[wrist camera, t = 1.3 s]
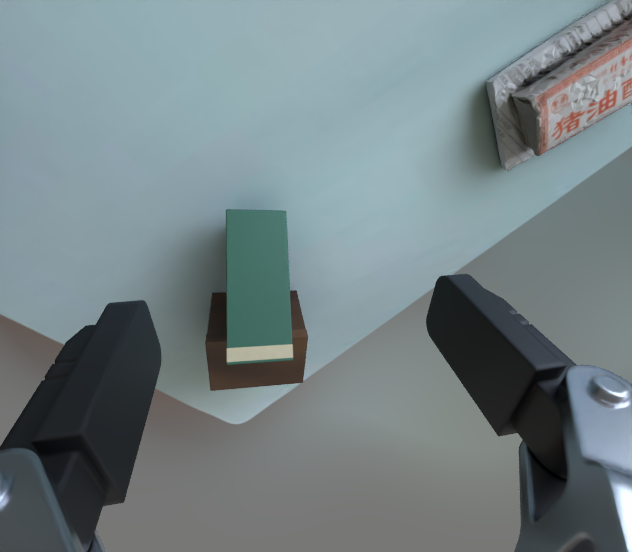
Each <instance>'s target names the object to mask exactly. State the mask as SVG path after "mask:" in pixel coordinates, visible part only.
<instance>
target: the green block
mask: <svg viewBox="0 0 632 552" xmlns="http://www.w3.org/2000/svg"><path fill="white" fill-rule="evenodd" d="M226 298H227V349H226V351H227V365H236V364H250V363H263V362H277V361H291V360H293V345H292V327H291V305H290V283H289V262H288V240H287V218H286V211H272V210H231V209H227V210H226Z"/></svg>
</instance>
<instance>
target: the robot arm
mask: <svg viewBox="0 0 632 552" xmlns="http://www.w3.org/2000/svg"><path fill="white" fill-rule="evenodd" d="M426 324H427V330H428V333H429V336H430V337H431V339H432V340H433V342H434V343H435V345H436V346H437V348H438V349H439V351H440V352H441V354H442V355H443V356H444V358H445V359H446V361H447V362H448V364H449V365H450V367H451V368H452V370H453V371H454V372H455V374H456V375H457V377H458V378H459V380H460V381H461V383H462V384H463V386H464V387H465V388H466V390H467V391H468V393H469V394H470V396H471V397H472V398H473V400H474V401H475V403H476V404H477V406H478V407H479V409H480V410H481V412H482V413H483V415H484V416H485V417H486V419H487V420H488V422H489V423H490V425H491V426H492V428H493V429H494V431H495V432H496V433H497V435H498V436H503V435H508V434H514V433H518V434H519V435H520V437H521V438H522V439H523V441H522V442H521V444H520V447H519V474H520V507H521V508H520V509H521V529H520V535H519V539H518V542H517V545H516V548H515V552H632V384H631V383H630V382H628V381H627V380H625V379H623V378H622V377H620V376H618V375H616V374H614V373H612V372H610V371H608V370H605V369H602V368H599V367H595V366H590V365H576V364H575V363H574V362H573V361H572V360H571V359H569V358H568V357H567V356H566V355H565V354H564V353H563V352H562V351H561V350H559V349H558V348H557V347H556V346H555V345H554V344H553V343H552V342H551V341H549V340H548V339H547V338H546V337H545V336H544V335H543V334H542V333H541V332H539V331H538V330H537V329H536V328H535V327H534V326H533V325H529V323H528V321H527V320H526V319H525V318H524V317H523V316H522V315H520V314H517V311H516V310H515V309H514V308H513V307H512V306H511V305H509V304H508V303H507V302H506V301H505V300H504V299H502V298H501V297H499V296H497V295H495V294H493V293H491V292H490V291H488V290H486V289H484V288H483V287H482V286H481V285H480V284H479V283H478V282H477V281H476V280H475V279H473V278H472V277H471V276H470V275H468V274H459V275H447V276H440V277H439V278H438V280H437V281H436V285H435V288H434V292H433V296H432V299H431V303H430V307H429V310H428V314H427V319H426ZM160 366H161V348H160V343H159V340H158V337H157V334H156V331H155V328H154V324H153V321H152V318H151V315H150V312H149V309H148V306H147V304H146V302H145V301H143V300H139V301H127V302H115V303H109V304H108V305H107V306H106V307H105V309H104V311H103V313H102V315H101V316H100V318H99V320H98V322H97V323H96V325H89V326H85V327H84V328H83V329H81V330H80V331H79V332H78V333H77V334H75V335H74V336H73V337H72V338H71V339H69V340H68V341H67V342H66V343H65V345H64V347H63V348H62V350H61V351H60V353H59V355H58V356H57V358H56V359H55V364H52V366H51V367H50V369H49V370H48V372H47V374H46V375H45V380H44V381H41V383H40V385H39V386H38V388H37V389H36V391H35V392H34V394H33V396H32V398H31V399H30V400H29V402H28V404H27V405H26V407H25V408H24V410H23V411H22V413H21V415H20V416H19V418H18V419H17V421H16V423H15V424H14V426H13V427H12V429H11V430H10V432H9V434H8V435H7V437H6V438H5V440H4V442H3V443H2V445H1V446H0V552H106V549H105V547H104V545H103V542H102V540H101V538H100V536H99V534H98V532H97V530H96V525H97V522H98V520H99V516H100V513H101V510H102V507H103V506H106V505H112V504H118V503H123V502H124V500H125V497H126V493H127V489H128V486H129V482H130V478H131V475H132V471H133V467H134V463H135V459H136V456H137V452H138V449H139V445H140V441H141V437H142V433H143V430H144V426H145V422H146V419H147V415H148V412H149V408H150V404H151V400H152V397H153V393H154V389H155V386H156V382H157V378H158V375H159V371H160Z"/></svg>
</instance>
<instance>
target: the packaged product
mask: <svg viewBox="0 0 632 552" xmlns="http://www.w3.org/2000/svg"><path fill="white" fill-rule="evenodd" d="M486 87H487V92H488V97H489V102H490V107H491V112H492V117H493V123H494V128H495V133H496V139H497V144H498V150H499V155H500V160H501V164H502V168H504V169H505V170H507V171H509V170H511V169H512V168H513V167H515V166H517V165H518V164H520V163H522V162H525V161H526V160H528V159H530V158H531V157H533V156H534V155H536V156H540V155H541V154H543V153H545V152H547V151H548V150H550V149H552V148H554V147H556V146H557V145H559V144H561V143H563V142H564V141H566V140H568V139H569V138H571V137H573V136H575V135H576V134H578V133H580V132H581V131H583V130H585V129H586V128H588V127H590V126H591V125H593V124H595V123H597V122H598V121H600V120H602V119H603V118H605V117H607V116H608V115H610V114H612V113H614V112H615V111H617V110H619V109H621V108H622V107H624V106H626V105H627V104H629V103H631V102H632V0H612V1H610V2H608V3H607V4H605V5H603V6H601V7H600V8H598V9H596V10H595V11H593V12H591V13H589V14H588V15H586V16H584V17H583V18H581V19H579V20H578V21H576V22H574V23H572V24H571V25H569V26H568V27H566V28H565V29H563V30H562V31H560V32H559V33H557V34H556V35H554V36H553V37H552V38H550V39H549V40H547V41H546V42H544V43H543V44H541V45H540V46H538V47H537V48H535V49H534V50H532V51H531V52H529V53H528V54H526V55H525V56H523V57H522V58H520V59H519V60H517V61H516V62H514V63H513V64H511V65H510V66H508V67H507V68H505V69H504V70H502V71H501V72H499V73H498V74H496V75H495V76H493V77H492V78H490V79H489V80H487V81H486Z"/></svg>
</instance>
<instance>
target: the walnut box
mask: <svg viewBox="0 0 632 552" xmlns="http://www.w3.org/2000/svg"><path fill="white" fill-rule="evenodd" d="M290 305H291V327H292V345H293V360H291V361H277V362H263V363H250V364H236V365H227V351H226V349H227V298H226V292H225V293H212V300H211V308H210V316H209V323H208V331H207V335H206V341H205V344H206V353H207V362H208V371H209V380H210V389H211V391H213V390H225V389H236V388H248V387H259V386H271V385H282V384H293V383H303V376H304V367H305V359H306V350H307V341H308V334H307V330H306V329H305V325H304V320H303V316H302V312H301V308H300V304H299V300H298V295H297V291H290Z"/></svg>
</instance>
